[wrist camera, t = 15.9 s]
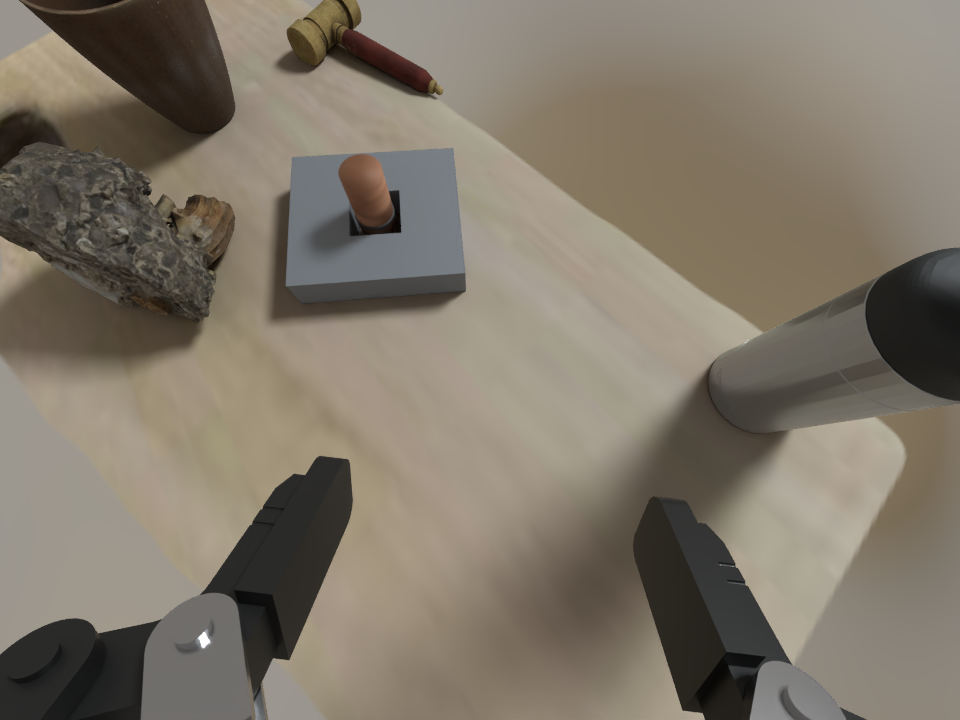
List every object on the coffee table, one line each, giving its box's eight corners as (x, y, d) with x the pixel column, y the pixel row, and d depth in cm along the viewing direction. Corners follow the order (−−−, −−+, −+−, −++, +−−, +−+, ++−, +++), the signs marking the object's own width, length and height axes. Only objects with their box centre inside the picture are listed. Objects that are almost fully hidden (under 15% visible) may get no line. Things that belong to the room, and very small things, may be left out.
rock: (-133, 230, 25) (3, 44, 27) (-23, 238, 37) (68, 109, 38) (186, 356, 36) (272, 218, 37) (193, 331, 48) (258, 227, 49)
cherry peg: (400, 219, 46) (382, 152, 37) (401, 250, 45) (383, 188, 36) (364, 222, 46) (337, 154, 37) (365, 253, 45) (337, 191, 35)
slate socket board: (454, 174, 48) (453, 148, 45) (465, 291, 44) (465, 273, 40) (306, 183, 48) (291, 157, 44) (302, 303, 43) (285, 286, 39)
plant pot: (266, 152, 49) (173, 3, 33) (140, 166, 48) (-15, 18, 32) (264, 64, 53) (181, -105, 38) (149, 75, 52) (15, -94, 37)
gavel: (463, 51, 51) (420, 101, 48) (461, 84, 55) (422, 131, 52) (329, -23, 52) (280, 21, 49) (338, 15, 56) (293, 57, 54)
